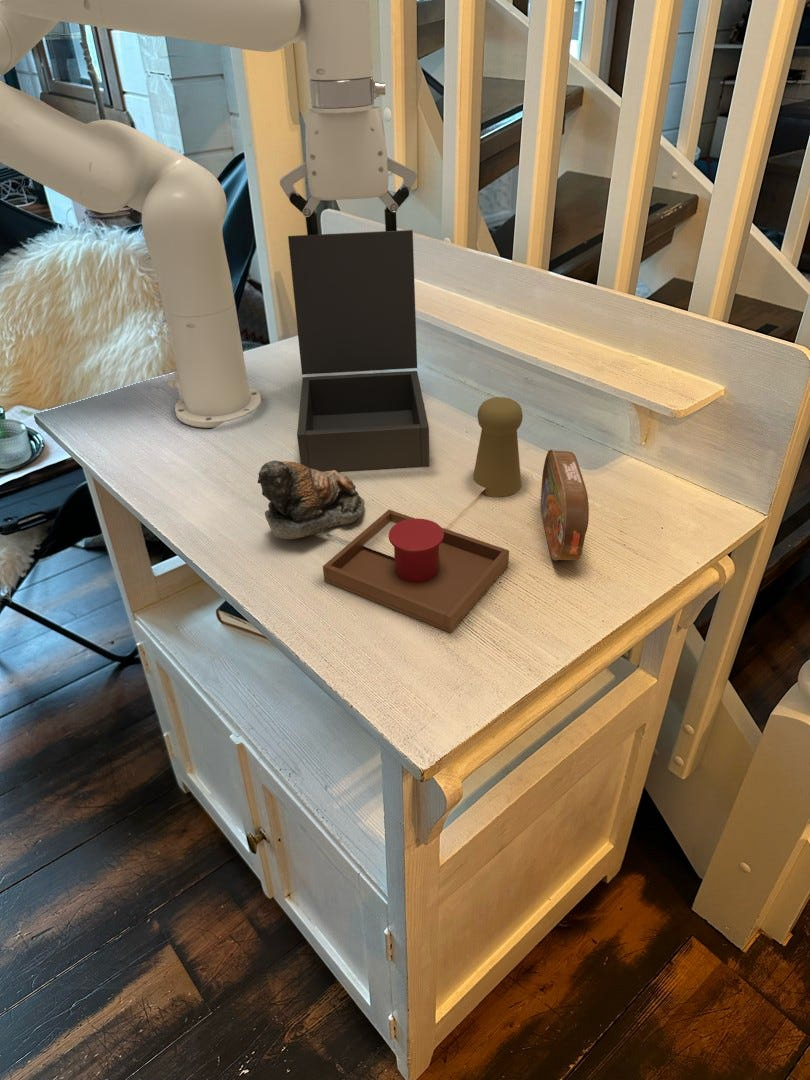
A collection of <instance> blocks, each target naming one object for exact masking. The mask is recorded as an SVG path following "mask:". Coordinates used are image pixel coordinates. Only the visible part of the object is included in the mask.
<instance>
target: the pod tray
mask: <svg viewBox="0 0 810 1080" xmlns="http://www.w3.org/2000/svg"><path fill="white" fill-rule="evenodd" d="M407 519H416V517H412V516H409V515H407V514H404V513H401V512H398V511H394V510H391V509H387V511H385V512H384V513H383V514H382V515H381V516H379V517H378V518H376V520H375V521H374V522H372V523H371V524H370V525H369V526H367V528H365V529H364V530H363V531H362V532H361V533H360V534H358V535H357V536H356V537H355V538H353V539H352V540H351V542H349V543H348V544H347V545H346V546H344V547H343V548H342V549H341V550H339V552H337V553H336V554H335V555H334V556H333V557H332V558H330V560H328V561H327V562H326V563H325V564H324V565H322V572H323V581H324V582H325V583H327V584H330V585H332V586H336V587H337V588H340V589H342V590H345V591H347V592H350V593H352V594H355V595H357V596H359V597H362V598H365V599H367V600H369V601H372V602H374V603H376V604H379V605H382V606H384V607H385V608H389V609H391V610H394V611H396V612H398V613H401V614H404V615H406V616H408V617H411V618H413V619H416V620H418V621H420V622H423V623H425V624H427V625H429V626H432V627H435V628H437V629H439V630H443V631H445V632H447V633H449V634H451V633H452V632H453V631H454V630H455V628H456V627H457V626H458V625H459V624H460V622H461V621H462V620H463V619H464V618H465V617H466V616H467V614H468V613H470V611H471V610H472V609H473V607H474V606H475V605H477V603H478V602H479V601H480V600H481V598H482V597H483V596H484V595H485V593H486V592H487V591H488V590H489V589H490V588H491V586H492V585H493V584H494V583H495V582H496V580H498V578H499V577H500V576H501V575H502V573H503V572H504V571H505V570H506V568H508V566H509V562H510V558H509V557H510V550H509V549H506V548H503V547H501V546H497V545H495V544H491V543H489V542H486V541H483V540H480V539H477V538H474V537H471V536H467V535H465V534H462V533H459V532H456V531H453V530H451V529H447V528H445V527H442V526H440V527H441V528H442V529H443V532H444V539H443V541H442V543H441V544H440V545H439V571H438V573H437V575H436V576H435V577H434V578H432V579H430V580H428V581H425V582H409V581H405V580H403V579H401V578H400V577H399V576H398V575H397V574H396V571H395V556H394V557H393V556H392V555H388V554H385V553H383V552H380V551H377V550H375V549H373V548H369V547H367V546H365V544H366V543H368V541H370V540H371V539H372V538H373V537H374V536H375V535H377V534H378V533H379V532H380V531H381V530H382V529H383V528H385V527H386V526H387V525H388V524H389V523H390V522H392V523H395V524H397V523H399V522H401V521H403V520H407Z"/></svg>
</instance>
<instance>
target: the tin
mask: <svg viewBox="0 0 810 1080" xmlns="http://www.w3.org/2000/svg"><path fill="white" fill-rule="evenodd" d="M541 475H542V477H541V489H540V510H541V518H542V522H543V527H544V531H545V537H546V541H547V546H548V550H549V554H550V558H551V559H552V561H558V560H560V561H577V560H578V559H580V558H581V557H582V555H583V547H584V543H585V540H586V539H585V538H586V534H587V532H588V528H589V520H590V519H589V518H590V517H589V515H590V513H589V512H590V506H589V505H590V504H589V496H588V495H589V494H588V491H587V488H586V484H585V481H584V478H583V474H582V471H581V469H580V465H579V463H578V459H577V457H576V455H575V453H574V452H572V451H567V450H554V449H549V450H548V451H547V453H546V456H545V459H544V463H543V469H542V474H541Z"/></svg>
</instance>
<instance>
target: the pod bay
mask: <svg viewBox="0 0 810 1080" xmlns="http://www.w3.org/2000/svg"><path fill="white" fill-rule="evenodd" d="M300 388H301V389H300V398H299V400H300V401H299V412H298V423H297V431H296V437H297V445H298V446H297V447H298V453H299V460H300V461H299V462H300V464H301V465H304V466H306V467H307V468H310V469H315V470H318V471H321V472H326V471H333V470H335V471H337V472H339V473H347V472H349V473H350V472H363V471H379V470H380V471H381V470H395V469H396V470H397V469H412V468H427V467H429V468H430V427H429V421H428V416H427V411H426V407H425V402H424V397H423V393H422V388H421V382H420V378H419V373H418V370H406V371H390V372H389V371H388V372H386V371H385V372H372V373H368V372H367V373H353V374H351V373H350V374H336V375H335V374H333V375H316V376H302V379H301V387H300Z"/></svg>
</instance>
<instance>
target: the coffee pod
mask: <svg viewBox="0 0 810 1080" xmlns="http://www.w3.org/2000/svg"><path fill="white" fill-rule="evenodd" d="M441 527H442V526H441V525H439V523H437V522H435V521H433V520H429V519H426V518H416V517H415V519H407V520H403V521H401V522H399V523H395V524H394V525H393V526H392V527H391V528H390V530H389V531H388V541H389V542H390V544H391V545H392V546H393V553H394V558H395V571H396V574H397V575H398V576H399V577H400V578H401V579H403V580H405V581H409V582H425V581H428V580H430V579H432V578H434V577H435V576H436V575H437V573H438V571H439V545H440V544H441V543H442V541H443V539H444V532H443V529H442V528H443V527H442V528H441Z"/></svg>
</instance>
